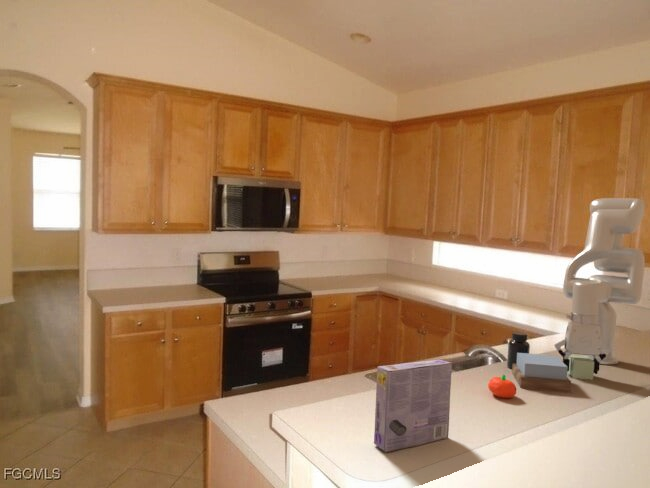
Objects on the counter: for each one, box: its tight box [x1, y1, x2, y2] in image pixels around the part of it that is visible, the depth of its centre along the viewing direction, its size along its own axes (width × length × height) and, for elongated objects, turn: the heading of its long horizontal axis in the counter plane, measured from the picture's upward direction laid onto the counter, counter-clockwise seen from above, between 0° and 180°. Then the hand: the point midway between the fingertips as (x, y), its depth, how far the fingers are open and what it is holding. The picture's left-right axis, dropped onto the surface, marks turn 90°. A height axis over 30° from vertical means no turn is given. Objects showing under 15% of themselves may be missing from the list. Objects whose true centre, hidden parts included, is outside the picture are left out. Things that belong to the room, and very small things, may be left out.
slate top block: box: [516, 353, 568, 380], centre depth 152 cm, size 12×12×4 cm
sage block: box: [567, 354, 595, 381], centre depth 160 cm, size 6×6×6 cm
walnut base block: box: [511, 364, 572, 393], centre depth 152 cm, size 14×14×4 cm
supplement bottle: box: [506, 331, 531, 370], centre depth 167 cm, size 7×7×12 cm
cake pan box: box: [373, 359, 453, 454], centre depth 109 cm, size 19×5×18 cm, turn 118°
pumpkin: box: [487, 374, 517, 399], centre depth 140 cm, size 7×8×6 cm
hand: (580, 371), depth 160 cm, fingers open, 8 cm apart
